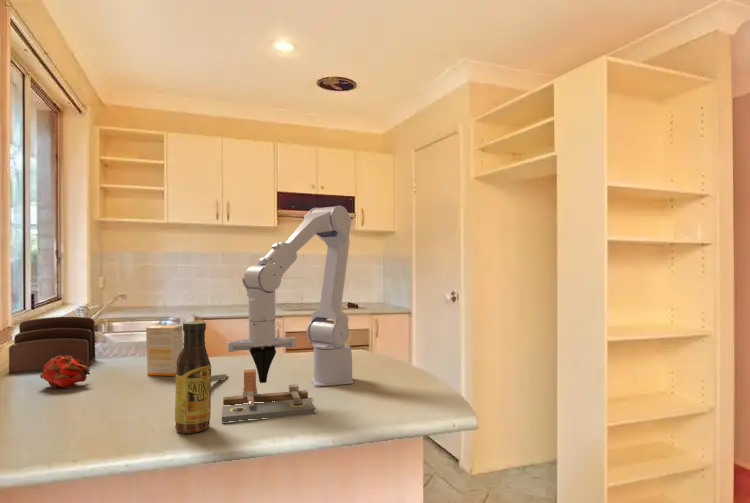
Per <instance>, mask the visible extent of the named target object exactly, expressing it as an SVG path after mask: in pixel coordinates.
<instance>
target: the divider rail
mask: <svg viewBox="0 0 750 503" xmlns="http://www.w3.org/2000/svg"><path fill="white" fill-rule="evenodd" d="M308 396H309V393H308V390H307V389H303V390H300V388H299V384H298V383H297V384H295V383H294V384H289V385H288V391H282V392H281V391H280V392H269V393H259V394H258V393H257V396H255V397H254V402H272V401H273V402H274V401H286V400H294V402H295V404H301V399H308V398H309V397H308ZM222 400H223V402H222V405H235V404H243V403H248V400H247V397H244V398H243V395H235V396H232V395H231V396H224V397H223V398H222Z"/></svg>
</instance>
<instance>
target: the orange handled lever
mask: <svg viewBox="0 0 750 503" xmlns="http://www.w3.org/2000/svg"><path fill="white" fill-rule="evenodd" d="M256 370H257V368H256V369H254V368H253V369H244V370H243V387H242V396H243V398H244V397H247V400H248V407H253V406H254V397H255V396H257V394H258V386H257V372H256Z"/></svg>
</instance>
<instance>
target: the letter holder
mask: <svg viewBox="0 0 750 503" xmlns="http://www.w3.org/2000/svg"><path fill="white" fill-rule="evenodd" d="M95 323H96V322H95V320H94V319H93V318H91V317H83V316H54V317H53V316H51V317H43V318H34V319H33V318H32V319H29V320H22V321H21V322H20V323H19V325H18V328H19V332H17V333H16V334H15V336H14V337H13V338H14V341H13V342H14V343H13V344H12V345H10V346H9V347H8V372H9V373H19V372H31V371H32V372H34V371H43V370H44V369H43V367H44V366H45V364H46V363H47V362H49V361H50V360H51V359H52V358H55V357H56V356H59V355H61V356H63V357H64V356H66V355H69V356H71V357H73V359H80V360H81V361H83V362H84V365H85V366H87V367H90V366H91V365H92V363H94V361H95V360H96V332H95V330H96V327H95V326H96V325H95ZM81 365H82V364H81Z"/></svg>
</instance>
